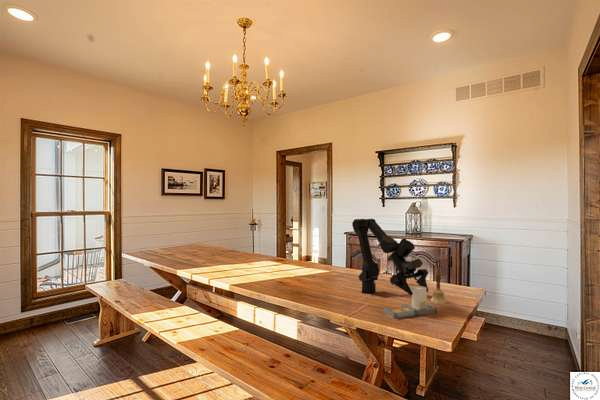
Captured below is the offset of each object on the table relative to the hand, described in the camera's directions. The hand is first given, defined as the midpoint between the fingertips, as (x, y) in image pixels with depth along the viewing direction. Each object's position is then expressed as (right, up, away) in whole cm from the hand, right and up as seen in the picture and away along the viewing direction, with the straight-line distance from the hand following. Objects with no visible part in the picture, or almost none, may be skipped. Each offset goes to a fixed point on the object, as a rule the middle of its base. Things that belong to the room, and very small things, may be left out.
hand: (419, 293), depth 136 cm
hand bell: (+14, -9, +13) cm, 20 cm away
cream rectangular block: (0, -8, 0) cm, 8 cm away
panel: (-5, -8, -1) cm, 10 cm away
